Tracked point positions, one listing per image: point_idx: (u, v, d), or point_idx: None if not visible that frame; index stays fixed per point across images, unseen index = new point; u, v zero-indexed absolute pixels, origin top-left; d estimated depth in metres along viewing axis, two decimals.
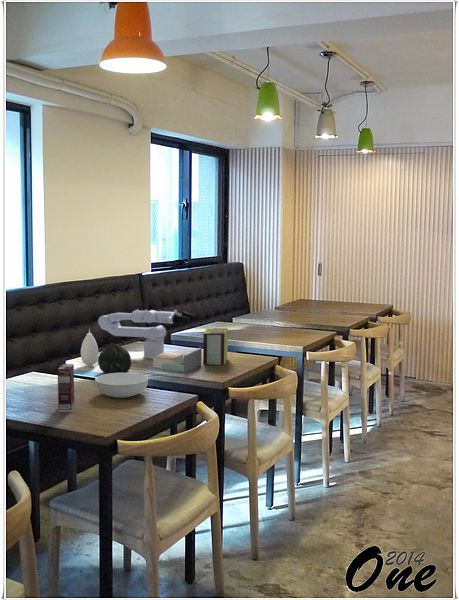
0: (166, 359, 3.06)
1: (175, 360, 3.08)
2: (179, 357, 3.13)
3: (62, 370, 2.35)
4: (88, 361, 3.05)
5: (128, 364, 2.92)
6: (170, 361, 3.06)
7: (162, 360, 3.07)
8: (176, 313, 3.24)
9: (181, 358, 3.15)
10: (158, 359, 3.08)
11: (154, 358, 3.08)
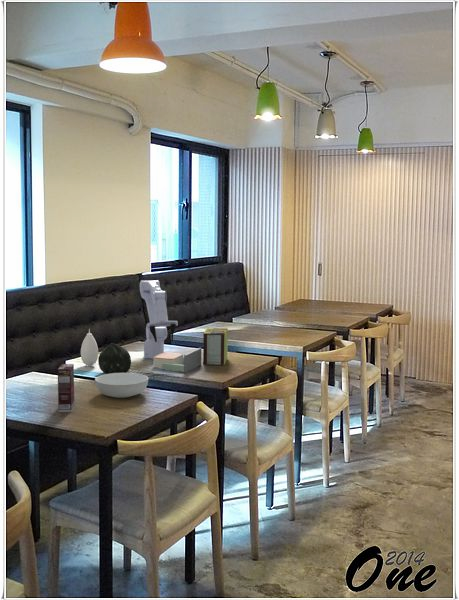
0: (166, 359, 3.06)
1: (175, 360, 3.08)
2: (179, 357, 3.13)
3: (62, 370, 2.35)
4: (88, 361, 3.05)
5: (128, 364, 2.92)
6: (170, 361, 3.06)
7: (162, 360, 3.07)
8: (162, 322, 3.13)
9: (181, 358, 3.15)
10: (158, 359, 3.08)
11: (154, 358, 3.08)
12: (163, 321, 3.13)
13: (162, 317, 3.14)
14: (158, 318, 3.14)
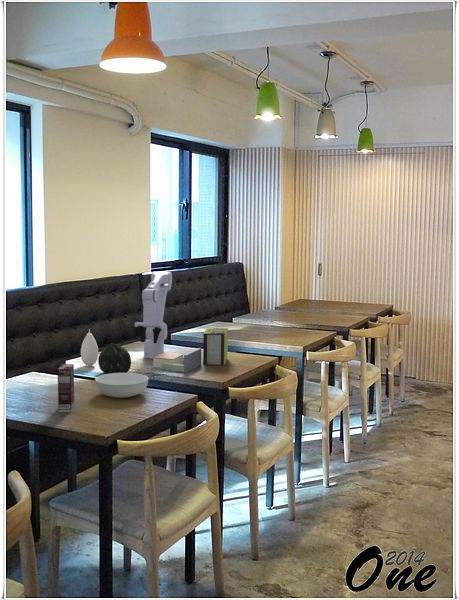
0: (166, 359, 3.06)
1: (175, 360, 3.08)
2: (179, 357, 3.13)
3: (62, 370, 2.35)
4: (88, 361, 3.05)
5: (128, 364, 2.92)
6: (170, 361, 3.06)
7: (162, 360, 3.07)
8: (147, 325, 3.12)
9: (181, 358, 3.15)
10: (158, 359, 3.08)
11: (154, 358, 3.08)
12: (147, 325, 3.11)
13: (147, 320, 3.11)
14: (144, 320, 3.12)
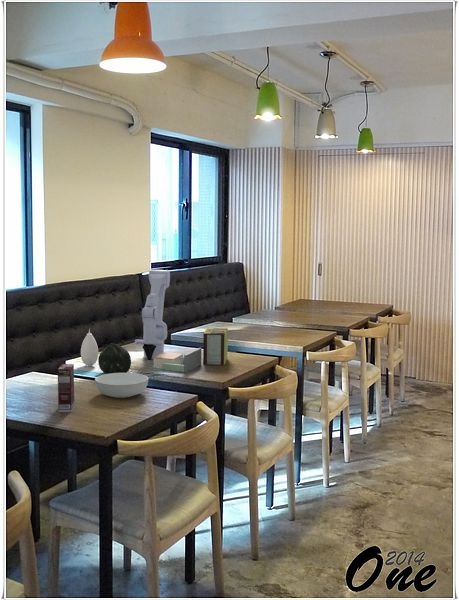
0: (167, 359, 3.06)
1: (176, 360, 3.09)
2: (179, 357, 3.13)
3: (62, 370, 2.35)
4: (88, 361, 3.05)
5: (128, 364, 2.92)
6: (171, 361, 3.06)
7: (163, 360, 3.07)
8: None
9: (181, 358, 3.15)
10: (159, 359, 3.08)
11: (154, 358, 3.08)
12: (147, 343, 3.12)
13: (147, 338, 3.12)
14: (144, 338, 3.13)
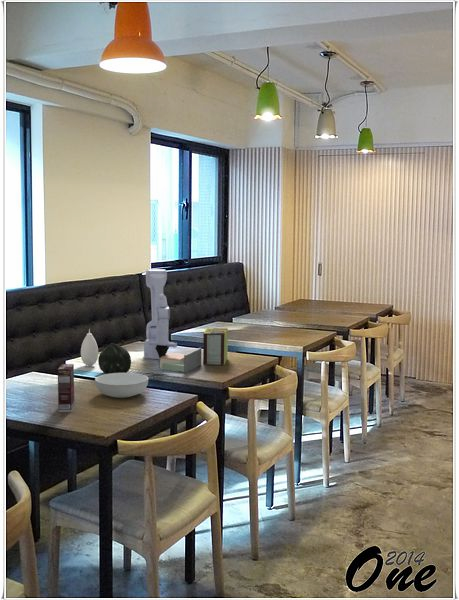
0: (173, 359, 3.05)
1: (182, 360, 3.07)
2: None
3: (62, 370, 2.35)
4: (88, 361, 3.05)
5: (128, 364, 2.92)
6: (177, 361, 3.05)
7: (169, 360, 3.06)
8: (160, 344, 3.11)
9: None
10: (165, 359, 3.07)
11: (161, 358, 3.07)
12: (160, 344, 3.10)
13: (160, 339, 3.10)
14: (157, 339, 3.11)
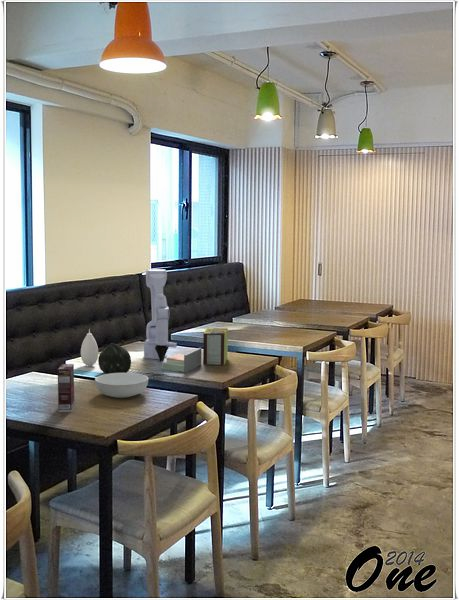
0: (179, 360, 3.04)
1: None
2: None
3: (62, 370, 2.35)
4: (88, 361, 3.05)
5: (128, 364, 2.92)
6: (183, 362, 3.04)
7: (175, 361, 3.05)
8: (160, 344, 3.11)
9: None
10: (171, 360, 3.06)
11: (167, 359, 3.06)
12: (159, 344, 3.10)
13: (159, 340, 3.10)
14: (156, 339, 3.11)
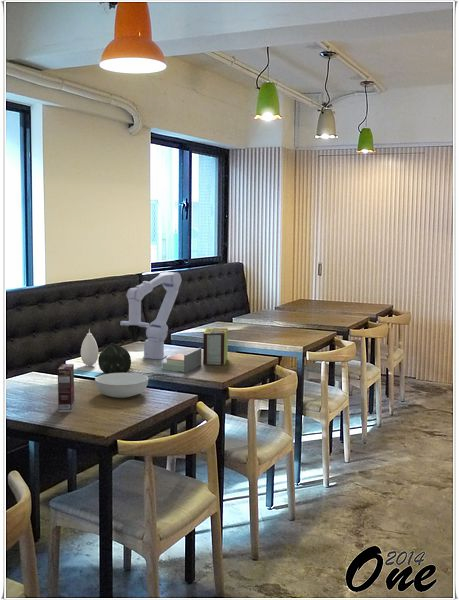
0: (179, 360, 3.04)
1: None
2: None
3: (62, 370, 2.35)
4: (88, 361, 3.05)
5: (128, 364, 2.92)
6: None
7: (175, 361, 3.05)
8: (132, 324, 3.14)
9: None
10: (171, 360, 3.06)
11: (167, 359, 3.06)
12: None
13: (132, 319, 3.14)
14: (129, 319, 3.15)
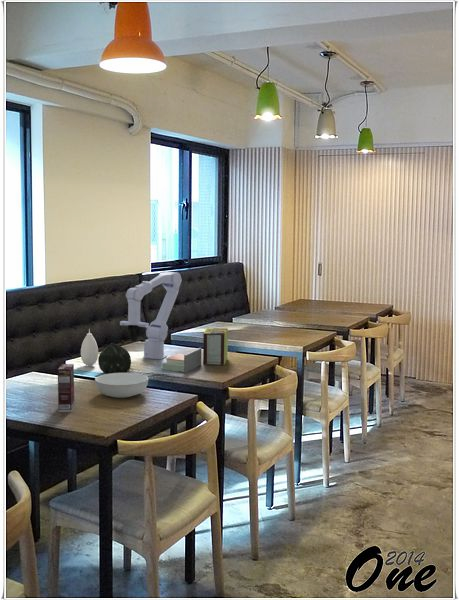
0: (179, 360, 3.04)
1: None
2: None
3: (62, 370, 2.35)
4: (88, 361, 3.05)
5: (128, 364, 2.92)
6: (183, 362, 3.04)
7: (175, 361, 3.05)
8: (132, 324, 3.15)
9: None
10: (171, 360, 3.06)
11: (167, 359, 3.06)
12: None
13: (131, 319, 3.14)
14: (128, 319, 3.15)
